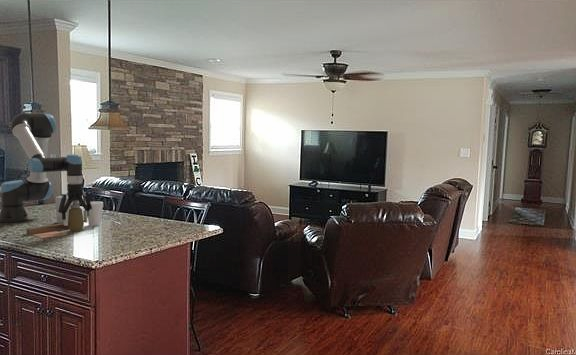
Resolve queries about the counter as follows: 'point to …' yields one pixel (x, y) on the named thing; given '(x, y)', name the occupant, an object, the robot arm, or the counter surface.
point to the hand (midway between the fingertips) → (75, 223)
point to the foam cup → (95, 213)
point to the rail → (49, 229)
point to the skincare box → (59, 215)
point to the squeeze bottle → (75, 218)
